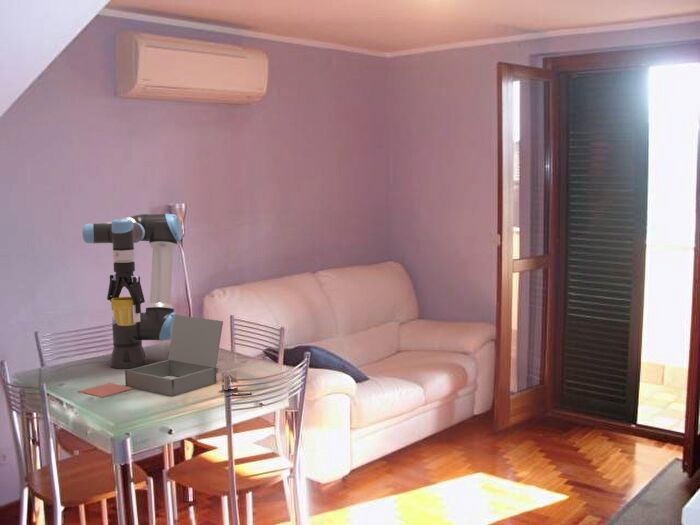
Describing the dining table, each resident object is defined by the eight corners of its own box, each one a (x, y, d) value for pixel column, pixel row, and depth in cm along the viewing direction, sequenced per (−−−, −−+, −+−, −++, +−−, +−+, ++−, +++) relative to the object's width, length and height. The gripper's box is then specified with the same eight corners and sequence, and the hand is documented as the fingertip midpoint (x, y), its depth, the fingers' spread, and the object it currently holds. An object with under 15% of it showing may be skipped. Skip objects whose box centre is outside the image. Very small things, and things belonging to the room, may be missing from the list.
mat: (78, 392, 289) (78, 390, 289) (110, 383, 300) (110, 382, 300) (102, 397, 281) (102, 396, 281) (133, 388, 292) (133, 387, 292)
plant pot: (135, 320, 298) (134, 295, 297) (145, 324, 289) (144, 298, 288) (108, 323, 292) (107, 298, 291) (117, 328, 283) (116, 301, 282)
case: (125, 386, 296) (122, 324, 294) (178, 371, 318) (176, 314, 315) (172, 396, 281) (169, 331, 279) (225, 380, 303) (223, 320, 300)
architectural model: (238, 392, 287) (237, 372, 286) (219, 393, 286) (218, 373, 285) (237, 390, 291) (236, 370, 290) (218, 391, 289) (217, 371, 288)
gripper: (95, 260, 291) (97, 319, 293) (137, 263, 279) (140, 325, 281) (111, 258, 297) (113, 316, 300) (153, 261, 285) (155, 321, 287)
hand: (126, 320), depth 290 cm, fingers closed on plant pot, 10 cm apart
